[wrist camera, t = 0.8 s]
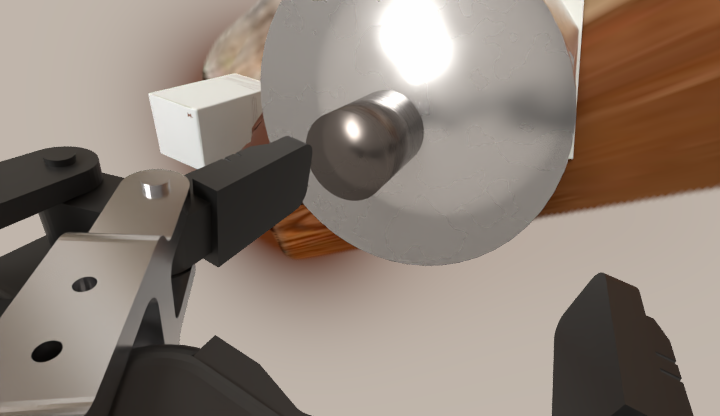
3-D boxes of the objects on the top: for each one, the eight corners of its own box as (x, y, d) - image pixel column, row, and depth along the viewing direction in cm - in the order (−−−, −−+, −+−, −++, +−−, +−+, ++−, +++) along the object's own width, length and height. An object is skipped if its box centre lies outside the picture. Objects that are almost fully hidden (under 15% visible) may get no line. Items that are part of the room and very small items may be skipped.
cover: (588, -69, 26) (599, -220, 8) (572, 158, 33) (559, 354, 15) (376, -11, 34) (148, -20, 16) (399, 160, 41) (258, 285, 23)
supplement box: (234, 71, 48) (145, 90, 38) (279, 85, 45) (196, 109, 36) (237, 124, 52) (158, 153, 42) (278, 140, 49) (204, 174, 40)
